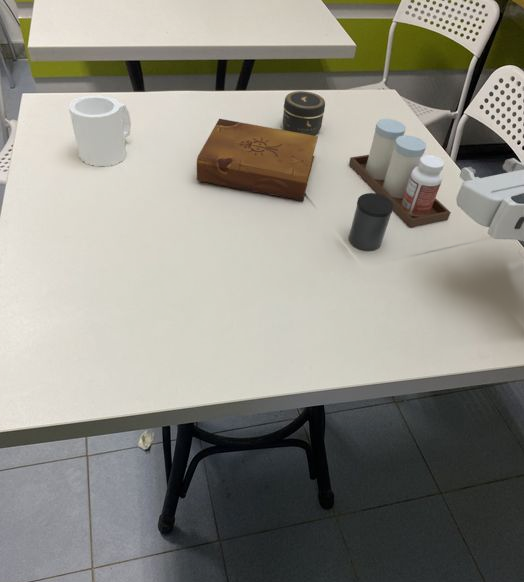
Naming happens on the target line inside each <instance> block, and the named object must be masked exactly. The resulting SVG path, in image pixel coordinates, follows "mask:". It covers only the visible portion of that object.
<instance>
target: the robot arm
mask: <svg viewBox="0 0 524 582" xmlns="http://www.w3.org/2000/svg"><path fill="white" fill-rule="evenodd" d="M502 169H503V170H504V171H505V172H504V173H499V174H495V175H489V176H484V177H479V176H475V175H476V172H477V169H474V168H473V167H472V166H466V167H463V168H461V170H460V173H459V178H460V179H461V180H462V181H463V182H462V183H461V186H460V188H459V190H458V192H457V195H456V205H457V206H458V207H459V209H460V210H462V211H463V212H464V213H465V215H467V216H468V217H469V218H470V219H471V220H472V221H473V222H475V223H476V224H477V225H480V226H482V227H485V228H488V229H487V234H488V236H490V237H491V238H492V239H494V240H512V241H513V240H514V241H520V242H524V162H520V161H519V160H517V159H516V158H514V157H512V158H507V159H506V160H505V161H504V163H503V165H502Z"/></svg>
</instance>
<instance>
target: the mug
mask: <svg viewBox="0 0 524 582" xmlns="http://www.w3.org/2000/svg"><path fill="white" fill-rule="evenodd" d="M68 111H69V115H70V120H71V125H72V129H73V134H74V138H75V142H76V147H77V152H78V155H79V159H80V158H81V159H80V160H81V162H83V161H84V162H85V163H84V162H83V163H84V164H86V163H88V164H90V165H89V166H92V165H94V166H93V167H99V166H105V167H111V165H112V166H115V165H118V164H120V163H122V162H123V161H125V160H126V158H127V156H126V155H128V154H127V148H126V147H127V146H126V139H125V138H127V137H129V136H130V135H131V128H132V127H131V126H132V121H131V116H130V112H129V109H128V108H127V106H126V104H124V103H121V102H119V101H118V100H117V99H115V98H113V97H111V96H107V95H100V94H89V95H82V96H80V97H76V98H74V99H73V100H71V101H70V103H69V104H68ZM125 157H126V158H125ZM121 161H122V162H121ZM119 162H120V163H119ZM88 164H87V165H88Z"/></svg>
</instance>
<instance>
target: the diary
mask: <svg viewBox="0 0 524 582" xmlns="http://www.w3.org/2000/svg"><path fill="white" fill-rule="evenodd" d="M317 142H318V136H317V135H315V136H313V135H307V134H302V133H296V132H291V131H285V130H284V129H279V128H274V127H268V126H263V125H257V124H252V123H247V122H241V121H235V120H229V119H225V118H218V119H217V122H216V123H215V125H214V127H213V129H212V130H211V132H210V134H209V136H208V138H207V139H206V141H205V143H204V145H203V146H202V148H201V150H200V152H199V153H198V155H197V158H196V181H198V182H202V183H206V184H213V185H217V186H223V187H227V188H233V189H239V190H244V191H248V192H254V193H260V194H265V195H271V196H276V197H281V198H286V199H291V200H296V201H302V202H303V201H304V199H305V196H306V190H307V187H308V183H309V179H310V175H311V171H312V167H313V163H314V160H315V150H316V146H317Z"/></svg>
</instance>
